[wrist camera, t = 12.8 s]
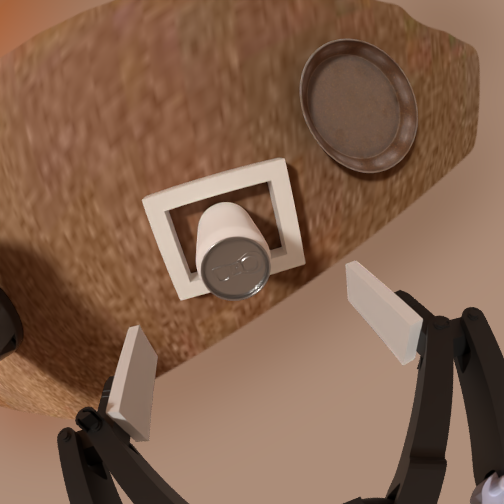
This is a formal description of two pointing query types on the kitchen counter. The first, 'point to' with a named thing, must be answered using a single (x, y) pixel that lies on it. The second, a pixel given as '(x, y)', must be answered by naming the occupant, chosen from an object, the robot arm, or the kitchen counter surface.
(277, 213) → the socket collar
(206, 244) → the can
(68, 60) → the kitchen counter surface
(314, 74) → the plant saucer
